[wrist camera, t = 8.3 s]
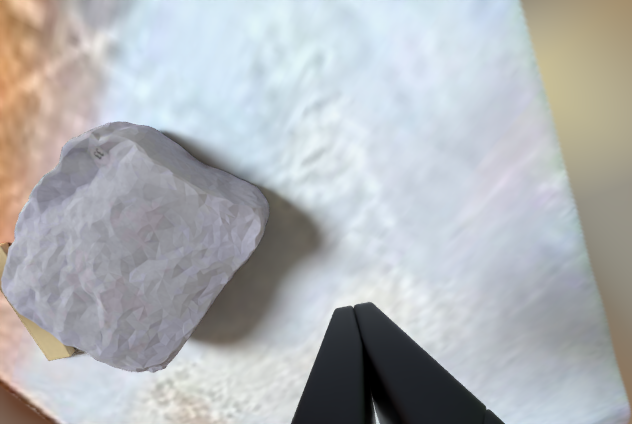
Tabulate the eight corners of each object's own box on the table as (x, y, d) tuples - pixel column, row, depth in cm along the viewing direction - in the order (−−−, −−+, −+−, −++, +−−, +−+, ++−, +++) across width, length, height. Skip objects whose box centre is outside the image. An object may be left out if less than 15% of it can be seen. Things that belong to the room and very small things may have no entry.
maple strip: (76, 350, 22) (71, 356, 22) (53, 355, 22) (48, 361, 22) (7, 241, 19) (0, 245, 18) (-19, 247, 19) (-27, 251, 18)
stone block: (47, 258, 21) (183, 348, 22) (-38, 295, 17) (140, 408, 17) (135, 91, 18) (289, 202, 19) (63, 80, 14) (270, 228, 14)
